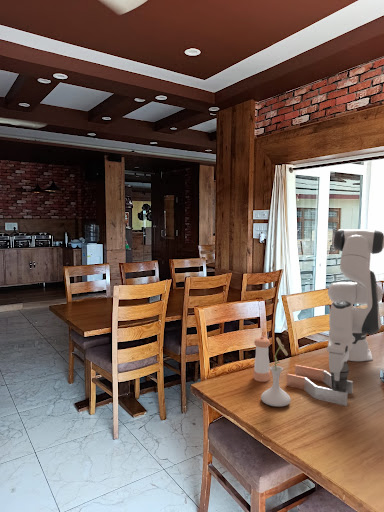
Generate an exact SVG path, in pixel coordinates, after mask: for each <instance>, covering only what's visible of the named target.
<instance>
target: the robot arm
mask: <svg viewBox="0 0 384 512" xmlns="http://www.w3.org/2000/svg"><path fill="white" fill-rule="evenodd" d="M332 244H333V248H334V249H335V250H336V251H339V252H341V256H340V262H339V263H340V265H339V266H340V267H339V268H340V271H341V274H343V276H345V277H346V278H347V279H348V280H349V281H338V282H332V283H331V284H330V285H329V287H328V290H327V294H328V298H329V300H330V301H331V302H332V303H331V304H330V310H329V319H328V320H329V321H328V324H329V325H328V326H329V331H328V344H327V347H326V348H327V349H326V350H327V352H328V370H329V373H331V372H332V373H334V380H335V381H339V380H340V372H341V370H342V368H343V366H344V362H346V363H347V362H348V361H350V362H365V361H373V353H372V351H371V349H369V342H368V340H367V335H370V336H372V335H374V334H376V333H378V332H379V331H381V327H382V318H381V314H380V308H379V303H380V302H381V301H382V299H383V296H384V291H383V289H382V287H381V286H380V285H379V284H378V283H377V277H376V275H375V272H374V271H371V268H370V267H371V266H370V264H371V254H372V255H375V254H380V253H381V252H382V251H383V249H384V233H383V232H382V231H379V230H372V229H366V228H350V229H349V228H348V229H347V228H341V229H337V230H336V231H335V233H334V234H333V237H332ZM354 305H366V307H365V308H361V307H355V306H354Z"/></svg>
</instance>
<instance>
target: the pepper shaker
mask: <svg viewBox="0 0 384 512" xmlns="http://www.w3.org/2000/svg"><path fill="white" fill-rule="evenodd" d="M253 343H254V346H255V358H254V362H253V363H254V364H253V365H254V366H253V367H254V369H253V380H255V381H256V382H269V381H270V379H271V370H270V359H269V347H270V346H271V341H270V339H268V338H267V337H264V336H260V337H257V338H255V340H254V342H253Z"/></svg>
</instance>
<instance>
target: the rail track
mask: <svg viewBox="0 0 384 512" xmlns="http://www.w3.org/2000/svg"><path fill="white" fill-rule="evenodd" d="M311 380H313V381H317V382H322V383H324V384H325V385H326V386H328V387H324V386H319V385H317V384H315V383H314V382H312V381H311ZM286 386H287V387H291V388H296V389H301V390H303V391H305V392H306V393H308V394H309V396H311V397H312V398H314V399H316V400H320V401H323V402H328V403H332V404H335V405H340V406H345V407H347V406H348V394H350V395H353V393H354V392H353V390H354V389H353V388H354V381H353V380H348V379H347V384H346V392H343V391H338V390H334V389H332V381H331V372H328V371H327V370H325V369H321V368H320V369H319V368H314V367H311V366H304V365H299V364H295V365H294V374H292V373H287V374H286ZM329 387H330V388H329Z"/></svg>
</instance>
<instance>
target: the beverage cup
mask: <svg viewBox="0 0 384 512" xmlns="http://www.w3.org/2000/svg"><path fill="white" fill-rule="evenodd" d="M349 368H350V367H349V363H347V362H344V366H343V368H342V370H341V372H340V380H339V381H335V380H334V373H332V372H330V374H331V381H332V388H331V389H334V390H338V391H343V392H346V384H347V380H348V377H349V371H350V369H349Z"/></svg>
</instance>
